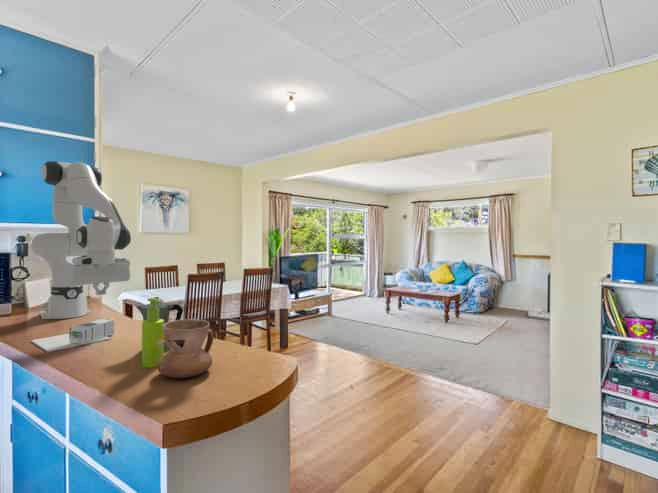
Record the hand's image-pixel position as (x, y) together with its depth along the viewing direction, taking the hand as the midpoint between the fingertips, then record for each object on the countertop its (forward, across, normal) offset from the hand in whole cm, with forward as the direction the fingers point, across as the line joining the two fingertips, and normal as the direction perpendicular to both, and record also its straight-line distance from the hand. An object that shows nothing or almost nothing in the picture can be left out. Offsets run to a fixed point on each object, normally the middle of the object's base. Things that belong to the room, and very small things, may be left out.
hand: (100, 294), depth 134 cm
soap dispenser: (+15, +3, +47) cm, 49 cm away
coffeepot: (+15, -5, +35) cm, 38 cm away
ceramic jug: (+14, 0, +60) cm, 61 cm away
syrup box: (+12, -2, +2) cm, 13 cm away
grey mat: (+15, +10, +1) cm, 18 cm away
